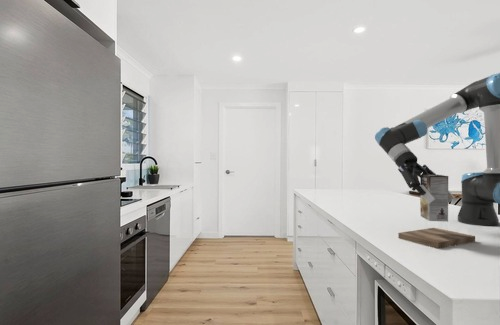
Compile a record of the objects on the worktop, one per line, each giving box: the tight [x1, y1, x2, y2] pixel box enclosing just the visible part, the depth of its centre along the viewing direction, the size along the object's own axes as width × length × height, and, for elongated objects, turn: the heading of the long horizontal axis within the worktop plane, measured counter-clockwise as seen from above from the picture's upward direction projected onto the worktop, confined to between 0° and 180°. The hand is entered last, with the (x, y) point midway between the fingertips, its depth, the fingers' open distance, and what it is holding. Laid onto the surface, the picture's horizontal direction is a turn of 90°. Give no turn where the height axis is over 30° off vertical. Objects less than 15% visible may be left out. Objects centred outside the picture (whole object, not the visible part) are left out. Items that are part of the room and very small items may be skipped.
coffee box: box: [419, 174, 449, 222], centre depth 107 cm, size 9×6×16 cm
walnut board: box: [397, 227, 476, 250], centre depth 107 cm, size 20×15×2 cm
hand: (442, 200), depth 104 cm, fingers closed on coffee box, 10 cm apart
